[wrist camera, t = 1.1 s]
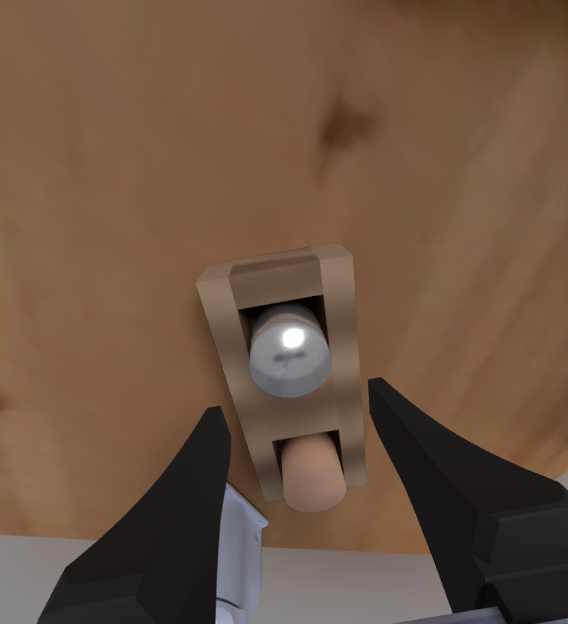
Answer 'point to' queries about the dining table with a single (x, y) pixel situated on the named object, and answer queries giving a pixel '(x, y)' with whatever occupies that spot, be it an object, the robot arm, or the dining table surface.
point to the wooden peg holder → (338, 334)
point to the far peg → (312, 473)
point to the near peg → (288, 351)
